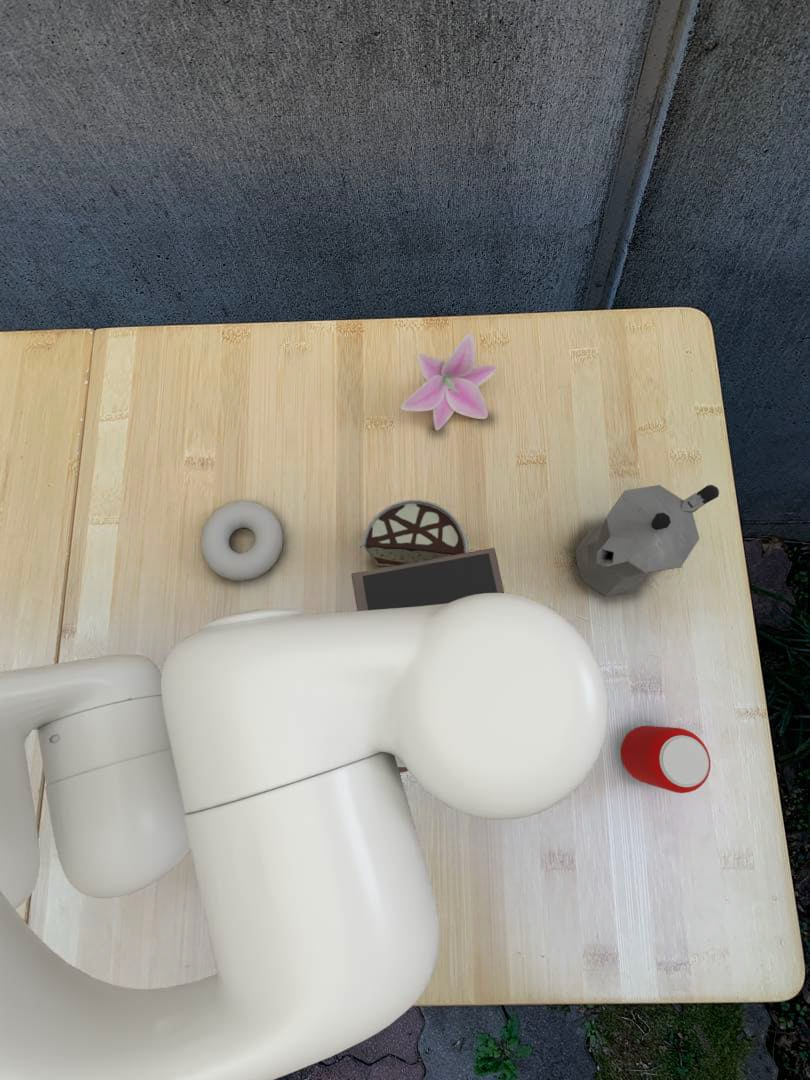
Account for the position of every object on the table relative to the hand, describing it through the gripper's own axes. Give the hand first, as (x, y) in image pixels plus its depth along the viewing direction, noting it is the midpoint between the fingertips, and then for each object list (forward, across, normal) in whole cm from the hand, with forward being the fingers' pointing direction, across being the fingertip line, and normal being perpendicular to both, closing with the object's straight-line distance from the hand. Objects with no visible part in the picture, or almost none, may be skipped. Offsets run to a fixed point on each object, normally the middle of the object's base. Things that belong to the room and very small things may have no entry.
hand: (453, 707), depth 51 cm
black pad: (+2, 0, +7) cm, 7 cm away
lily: (+28, +6, +44) cm, 52 cm away
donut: (+30, -20, +24) cm, 43 cm away
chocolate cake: (+30, +1, +20) cm, 36 cm away
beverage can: (+30, +22, -9) cm, 38 cm away
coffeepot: (+30, +25, +14) cm, 41 cm away
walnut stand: (+29, 0, +4) cm, 30 cm away
